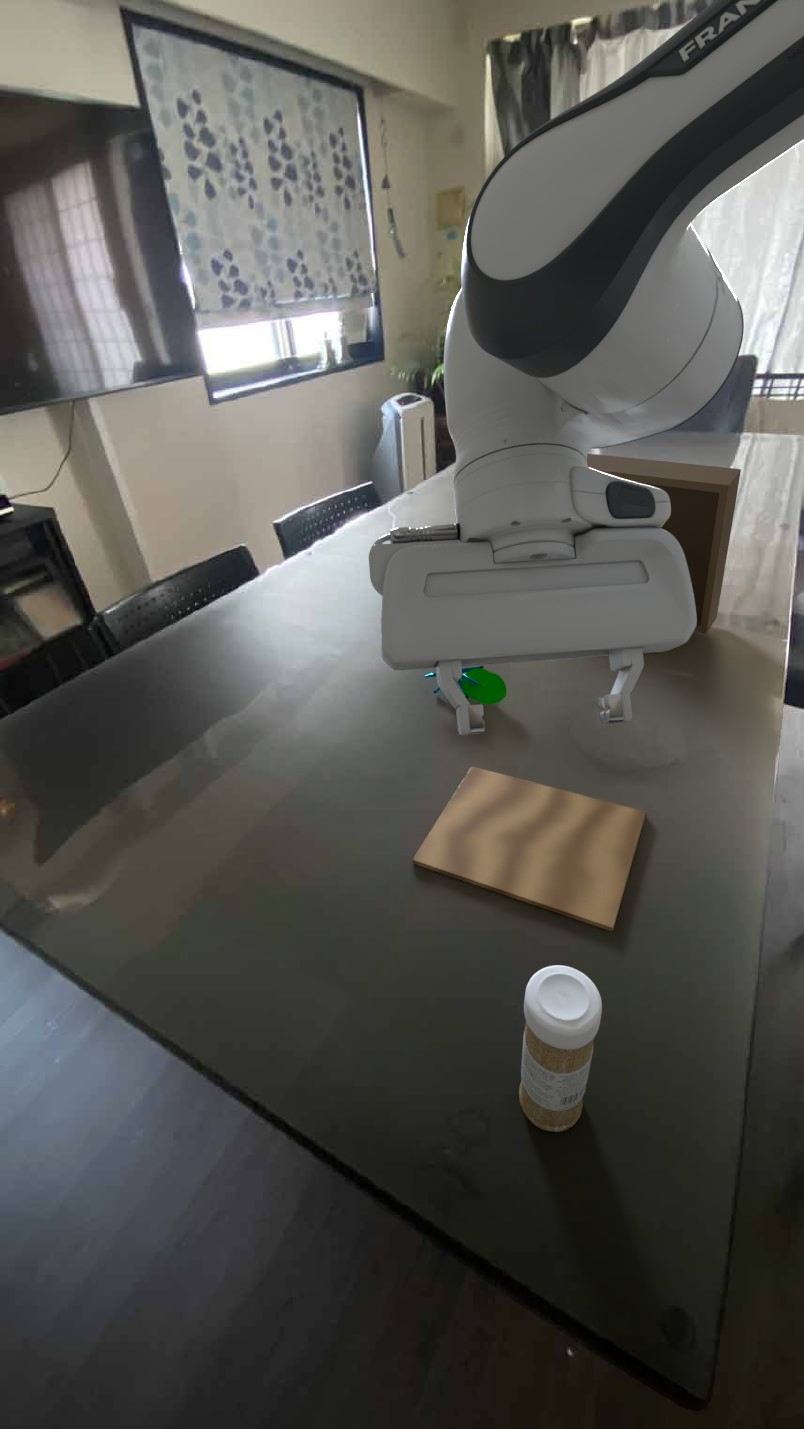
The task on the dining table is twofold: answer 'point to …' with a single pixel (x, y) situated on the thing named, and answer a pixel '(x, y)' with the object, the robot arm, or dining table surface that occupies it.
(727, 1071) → the dining table surface
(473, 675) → the stick construction toy
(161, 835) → the dining table surface
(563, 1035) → the sprinkles bottle
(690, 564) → the photo frame
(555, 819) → the wooden board
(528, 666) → the dining table surface
